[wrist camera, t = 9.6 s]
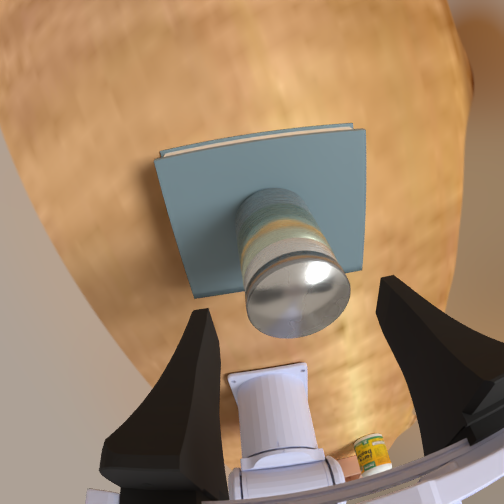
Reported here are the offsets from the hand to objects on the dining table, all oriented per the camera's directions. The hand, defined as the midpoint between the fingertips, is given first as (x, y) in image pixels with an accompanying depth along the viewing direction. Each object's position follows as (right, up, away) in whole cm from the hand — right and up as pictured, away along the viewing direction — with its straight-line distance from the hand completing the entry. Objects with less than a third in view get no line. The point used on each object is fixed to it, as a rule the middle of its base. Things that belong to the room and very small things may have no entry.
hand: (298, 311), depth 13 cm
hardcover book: (-1, +6, +8) cm, 10 cm away
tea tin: (-1, +4, +6) cm, 8 cm away
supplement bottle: (+18, -30, +34) cm, 49 cm away
